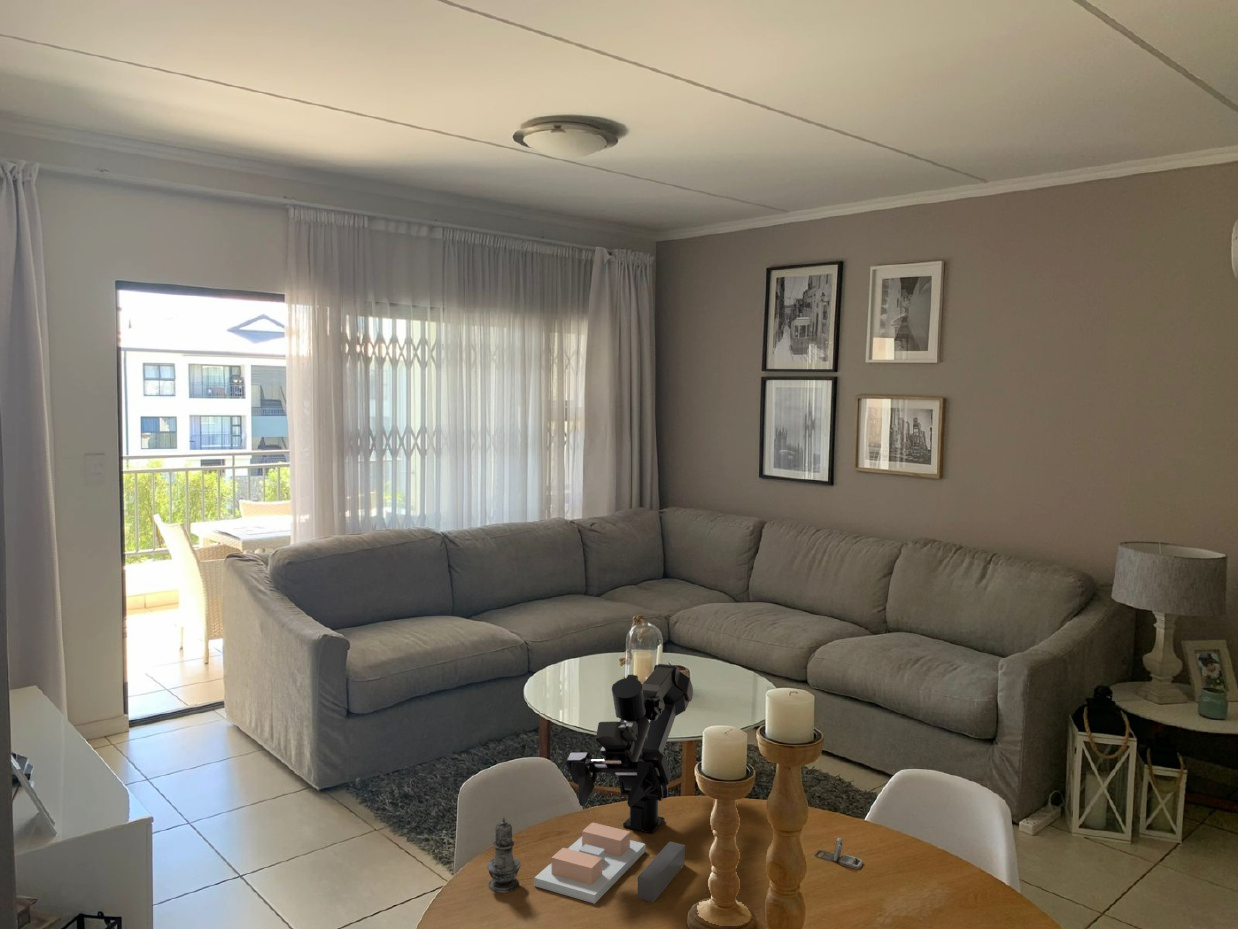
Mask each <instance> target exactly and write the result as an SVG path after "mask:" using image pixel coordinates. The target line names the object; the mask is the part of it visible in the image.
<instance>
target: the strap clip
mask: <svg viewBox="0 0 1238 929" xmlns="http://www.w3.org/2000/svg"><path fill="white" fill-rule="evenodd" d="M835 842H836V843H835V846H834V847H835V848H834V852H833V853H832V852H829V851H826V850H823V849H819V850H817V852H816V853H815V854H814V855H813V856H814V858H817V859H820V860H823V861H827V862H832V863H833V862H835V863H836V862H837V860H838V864H839V865H842V866H843V867H844V866H845V867H847V868H851V869H854V870H855V869H856V870H859V869H860V868H861V867H862V866H863V860H862V859H861V858H859V857H856V856H852V855H847V854H843V855H842V850H843V843H844V842H843V838H842V837H837V839H835ZM819 853H822V855H821V856H819ZM856 863H858V864H856Z"/></svg>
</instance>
